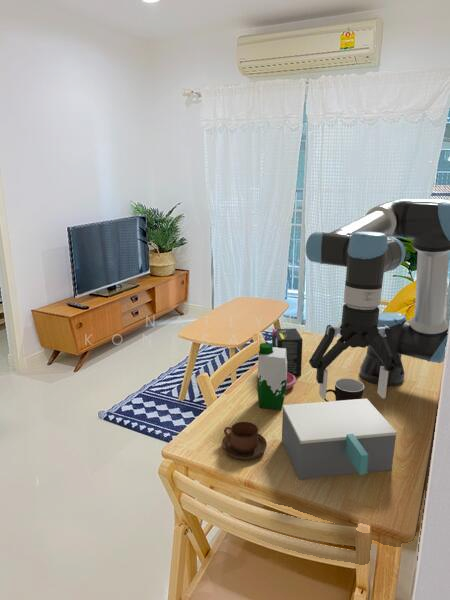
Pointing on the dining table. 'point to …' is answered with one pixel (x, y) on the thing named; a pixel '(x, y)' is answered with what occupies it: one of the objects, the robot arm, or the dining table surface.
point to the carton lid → (339, 425)
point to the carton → (334, 454)
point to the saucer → (290, 380)
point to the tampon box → (289, 348)
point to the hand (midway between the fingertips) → (351, 395)
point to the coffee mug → (347, 389)
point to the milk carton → (272, 376)
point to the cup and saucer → (244, 441)
